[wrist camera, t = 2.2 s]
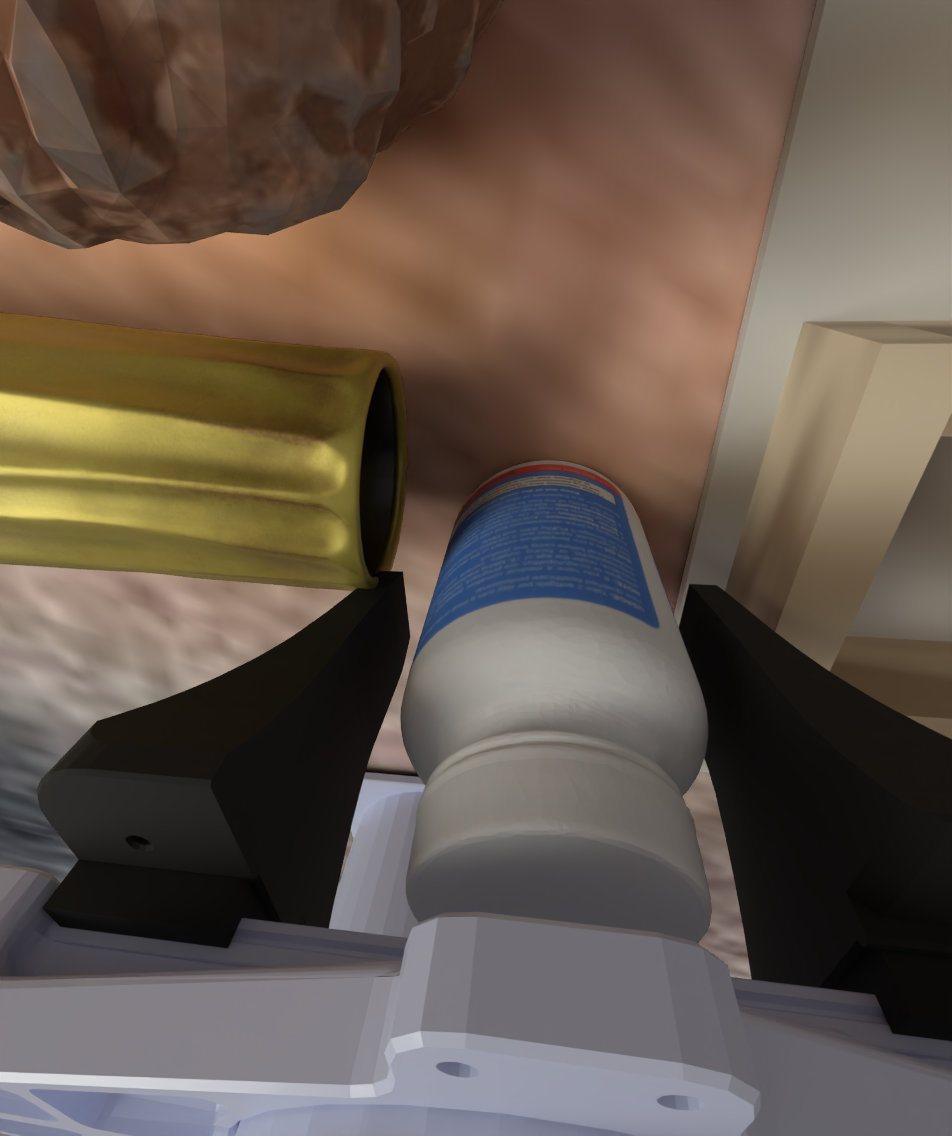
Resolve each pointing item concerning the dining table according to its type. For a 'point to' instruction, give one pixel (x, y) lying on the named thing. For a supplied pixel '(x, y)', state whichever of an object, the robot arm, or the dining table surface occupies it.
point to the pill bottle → (555, 716)
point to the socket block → (849, 371)
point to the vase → (198, 455)
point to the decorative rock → (211, 109)
